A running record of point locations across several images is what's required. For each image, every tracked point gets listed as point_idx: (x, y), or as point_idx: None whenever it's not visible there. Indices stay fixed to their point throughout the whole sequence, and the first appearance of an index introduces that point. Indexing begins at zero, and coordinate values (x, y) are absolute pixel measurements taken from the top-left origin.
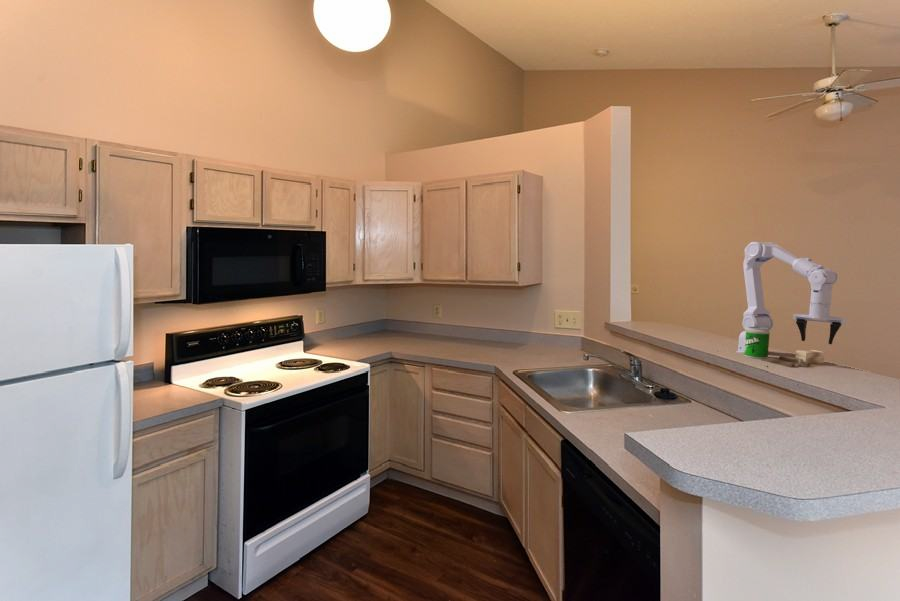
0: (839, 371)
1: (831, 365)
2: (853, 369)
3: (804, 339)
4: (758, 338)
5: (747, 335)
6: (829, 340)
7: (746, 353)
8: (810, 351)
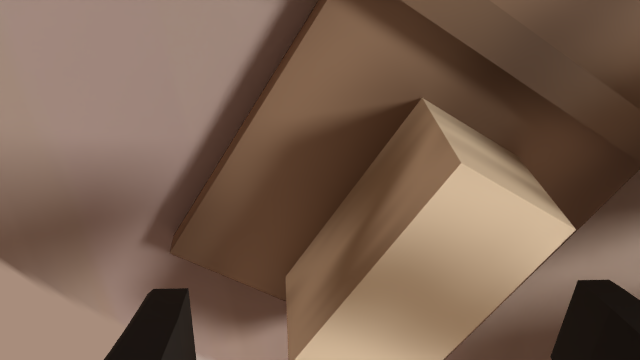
0: (105, 93)
1: (202, 212)
2: (62, 292)
3: (578, 332)
4: None
5: None
6: (160, 329)
7: None
8: (418, 288)
